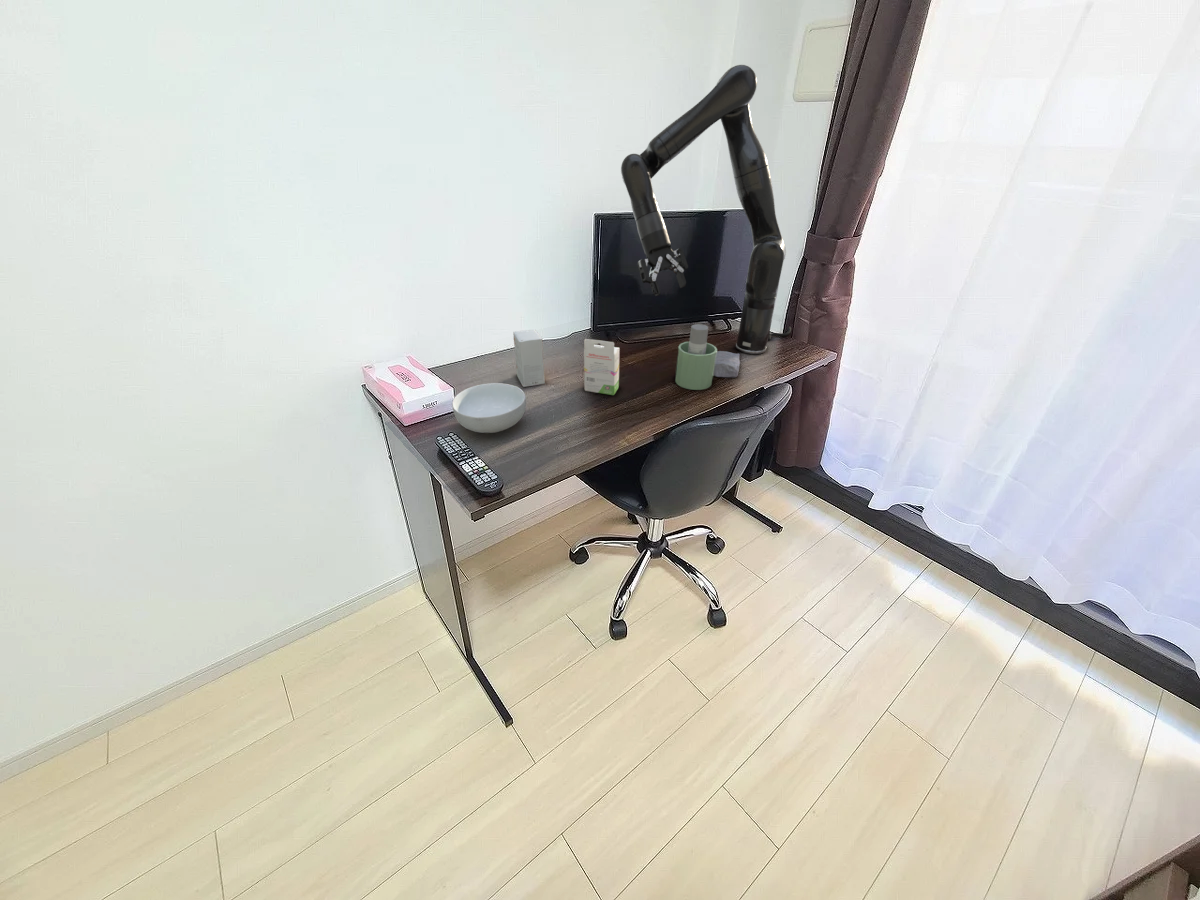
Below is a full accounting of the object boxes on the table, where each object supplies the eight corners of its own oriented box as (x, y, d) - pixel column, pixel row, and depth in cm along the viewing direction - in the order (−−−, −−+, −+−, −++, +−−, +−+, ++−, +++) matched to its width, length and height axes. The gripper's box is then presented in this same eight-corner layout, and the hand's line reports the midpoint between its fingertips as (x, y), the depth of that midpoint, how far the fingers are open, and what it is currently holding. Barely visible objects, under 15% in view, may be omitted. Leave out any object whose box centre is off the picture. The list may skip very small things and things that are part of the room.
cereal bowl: (482, 402, 128) (479, 377, 124) (540, 415, 123) (538, 389, 119) (441, 434, 115) (436, 407, 111) (503, 450, 109) (500, 422, 106)
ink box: (619, 388, 136) (621, 336, 127) (613, 396, 132) (615, 342, 123) (589, 383, 138) (589, 331, 130) (583, 390, 134) (582, 338, 126)
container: (693, 374, 142) (700, 322, 133) (705, 380, 138) (712, 328, 130) (681, 377, 140) (687, 325, 131) (692, 384, 136) (699, 331, 128)
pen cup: (689, 371, 145) (693, 338, 140) (719, 382, 139) (724, 348, 134) (667, 381, 139) (670, 347, 134) (697, 393, 133) (702, 358, 128)
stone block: (704, 381, 144) (740, 378, 141) (703, 365, 141) (740, 362, 139) (706, 366, 154) (739, 363, 151) (705, 351, 151) (739, 347, 148)
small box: (545, 384, 137) (542, 339, 130) (522, 387, 135) (518, 341, 128) (538, 372, 143) (535, 328, 136) (516, 375, 142) (512, 331, 134)
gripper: (667, 232, 143) (684, 288, 146) (625, 244, 138) (643, 301, 141) (681, 222, 136) (698, 281, 139) (637, 234, 131) (656, 294, 134)
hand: (670, 291), depth 140 cm, fingers open, 8 cm apart
